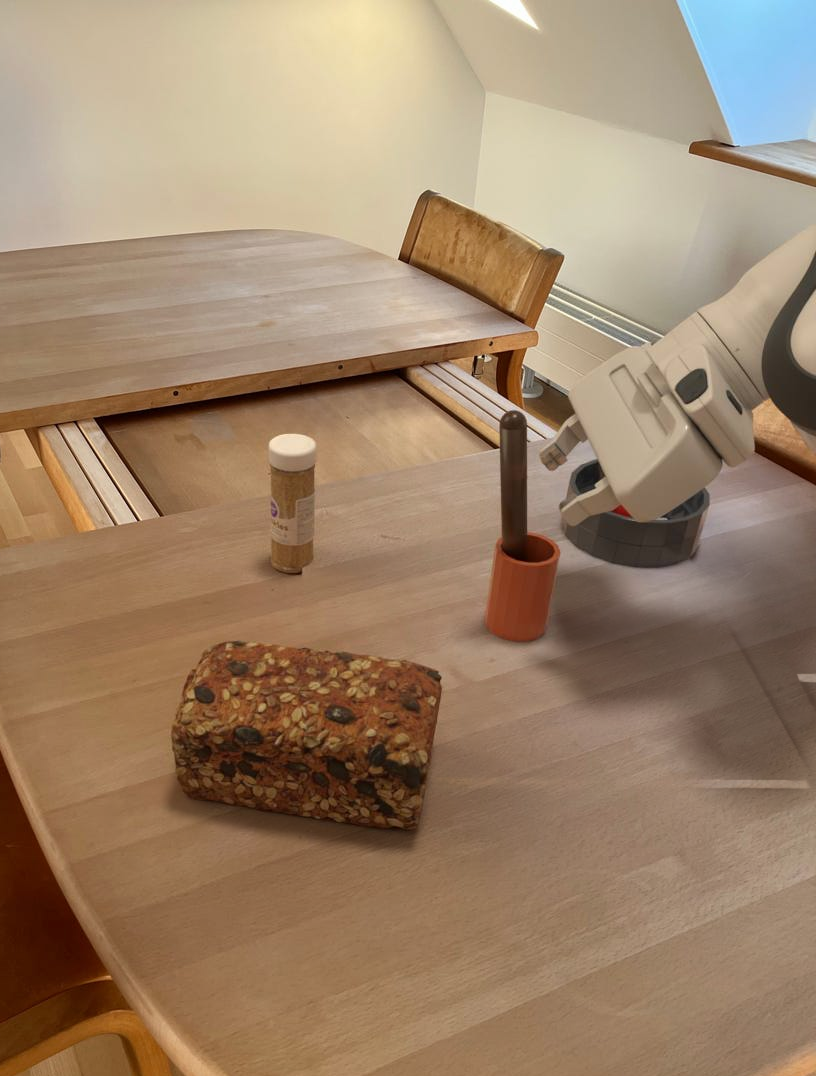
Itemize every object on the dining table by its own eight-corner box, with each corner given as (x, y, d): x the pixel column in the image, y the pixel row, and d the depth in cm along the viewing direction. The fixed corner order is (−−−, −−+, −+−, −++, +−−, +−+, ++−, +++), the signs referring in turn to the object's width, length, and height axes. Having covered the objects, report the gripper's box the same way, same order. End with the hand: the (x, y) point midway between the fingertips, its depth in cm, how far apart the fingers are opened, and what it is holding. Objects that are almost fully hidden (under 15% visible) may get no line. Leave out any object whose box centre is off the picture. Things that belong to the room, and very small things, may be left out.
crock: (538, 612, 93) (553, 532, 88) (549, 648, 89) (565, 565, 83) (480, 612, 93) (491, 531, 87) (488, 647, 88) (500, 565, 83)
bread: (437, 746, 78) (448, 648, 72) (418, 846, 70) (430, 745, 64) (215, 710, 81) (208, 613, 75) (171, 802, 72) (160, 701, 66)
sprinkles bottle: (261, 561, 99) (258, 440, 91) (295, 546, 101) (295, 427, 93) (289, 580, 96) (289, 457, 88) (324, 564, 99) (326, 443, 91)
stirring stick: (525, 614, 91) (524, 404, 78) (529, 628, 89) (529, 415, 76) (501, 617, 91) (497, 407, 78) (505, 631, 89) (501, 418, 77)
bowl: (673, 505, 110) (686, 457, 107) (713, 574, 99) (729, 523, 95) (549, 503, 110) (558, 455, 106) (575, 572, 99) (586, 521, 95)
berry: (632, 514, 107) (638, 490, 106) (639, 528, 105) (645, 503, 103) (605, 513, 107) (611, 489, 106) (612, 527, 105) (617, 503, 103)
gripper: (641, 307, 83) (512, 411, 89) (716, 407, 67) (553, 526, 73) (680, 359, 86) (553, 456, 92) (761, 467, 70) (600, 577, 76)
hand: (553, 488), depth 82 cm, fingers open, 8 cm apart
